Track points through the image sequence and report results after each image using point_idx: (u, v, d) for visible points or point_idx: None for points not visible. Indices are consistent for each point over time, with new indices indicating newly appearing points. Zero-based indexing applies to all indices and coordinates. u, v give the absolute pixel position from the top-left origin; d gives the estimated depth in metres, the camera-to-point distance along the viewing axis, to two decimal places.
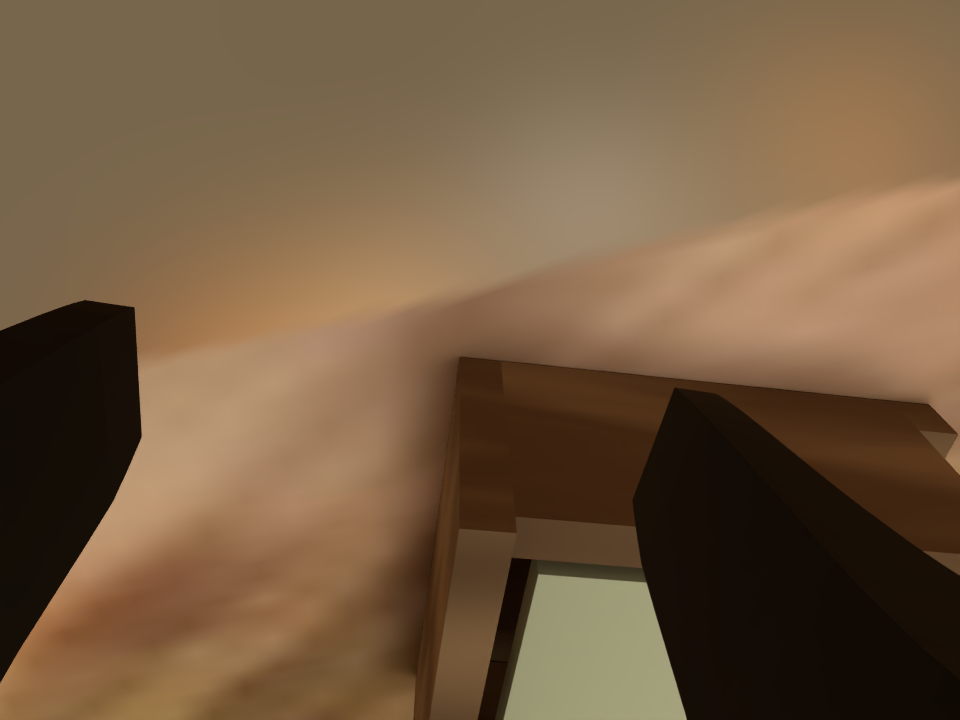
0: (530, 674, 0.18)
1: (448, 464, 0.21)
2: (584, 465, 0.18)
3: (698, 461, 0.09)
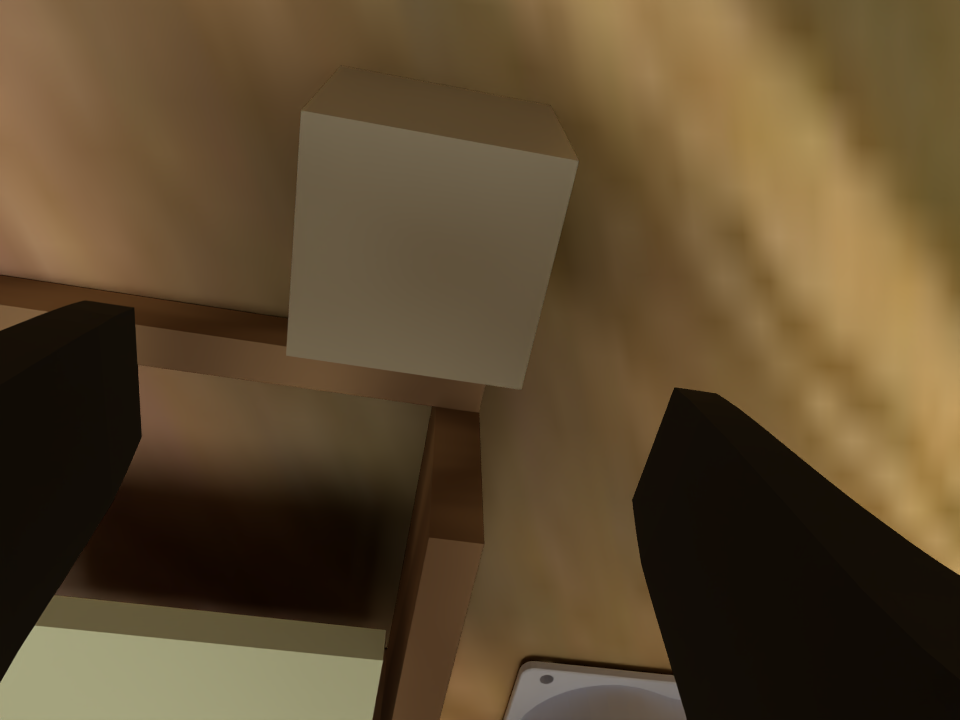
0: None
1: None
2: None
3: (698, 461, 0.09)
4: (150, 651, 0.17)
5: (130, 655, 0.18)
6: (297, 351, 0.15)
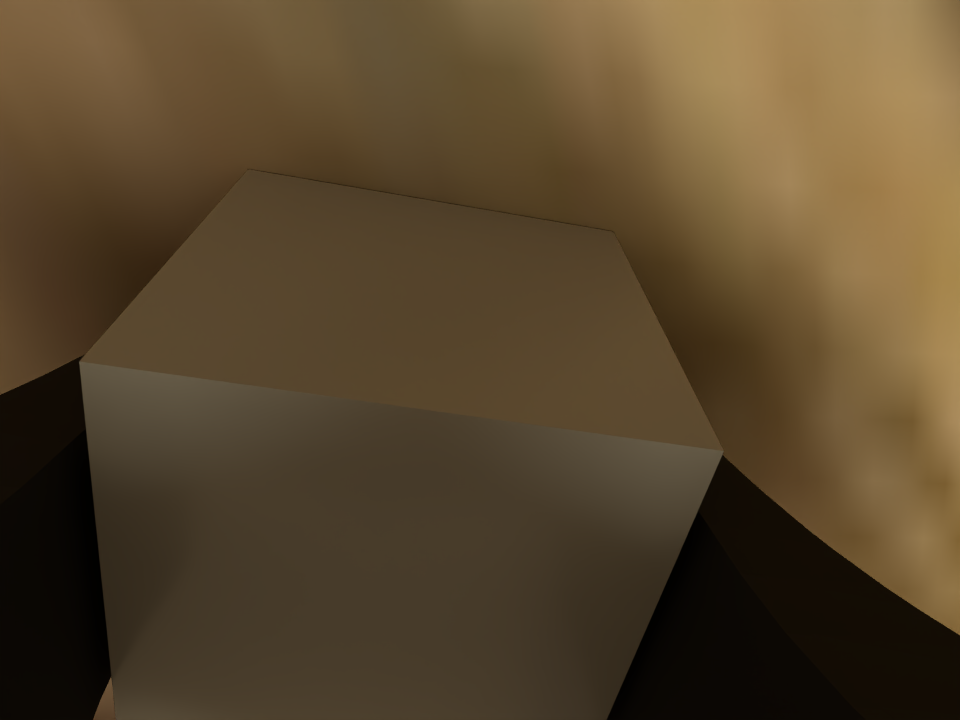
0: None
1: None
2: None
3: None
4: None
5: None
6: None
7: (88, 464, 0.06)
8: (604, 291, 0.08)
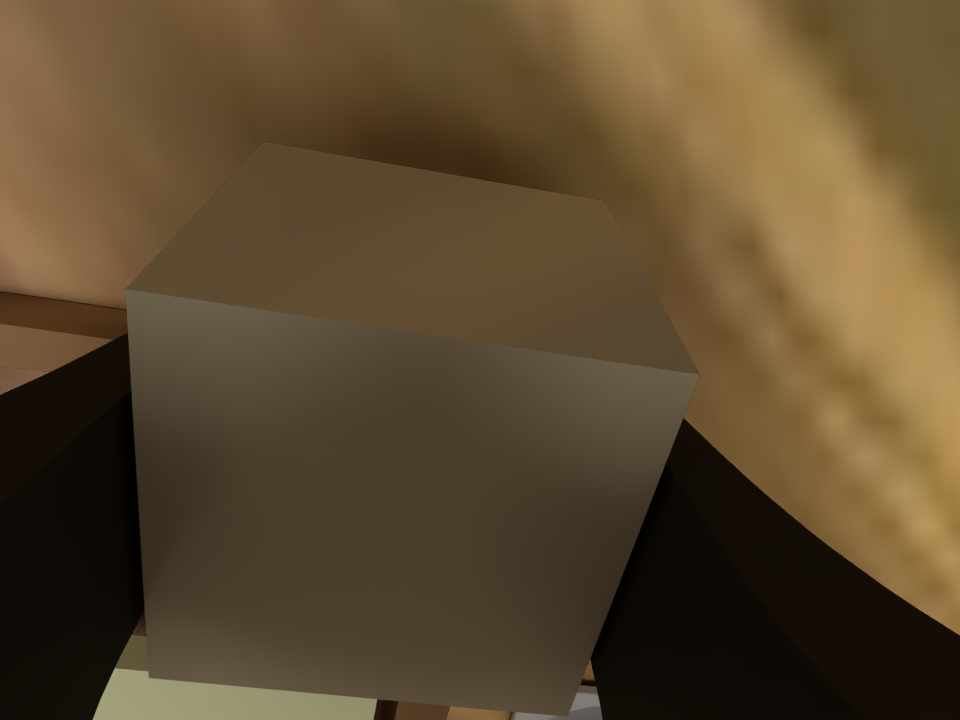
0: None
1: None
2: None
3: None
4: (134, 684, 0.17)
5: (113, 688, 0.17)
6: (168, 671, 0.09)
7: (88, 464, 0.06)
8: (595, 249, 0.09)
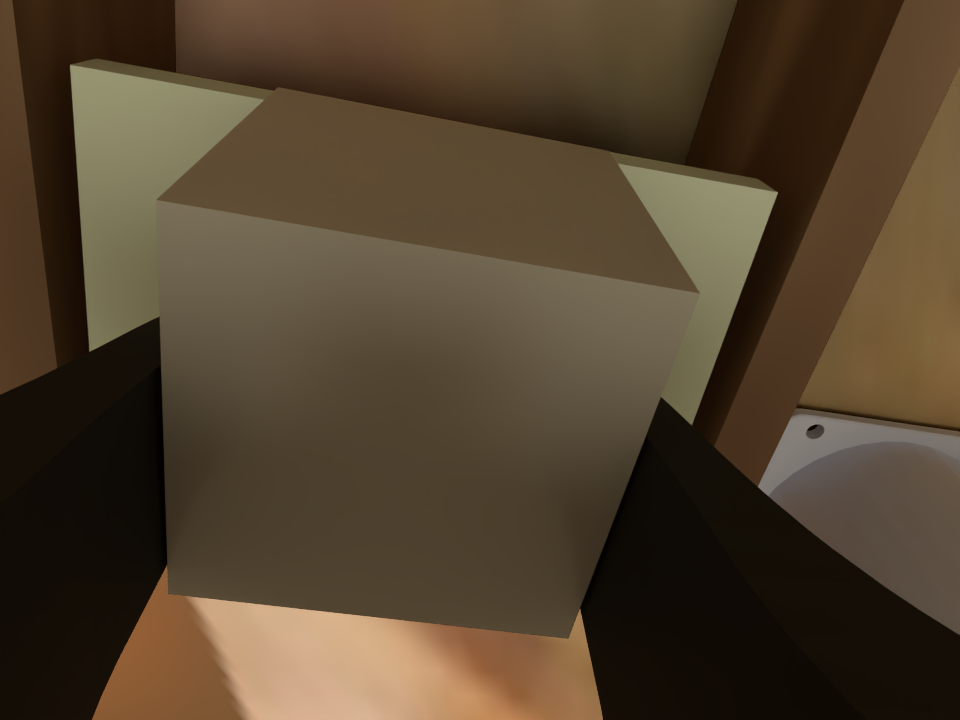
0: None
1: None
2: None
3: None
4: None
5: None
6: (187, 587, 0.09)
7: (87, 464, 0.06)
8: (600, 189, 0.09)
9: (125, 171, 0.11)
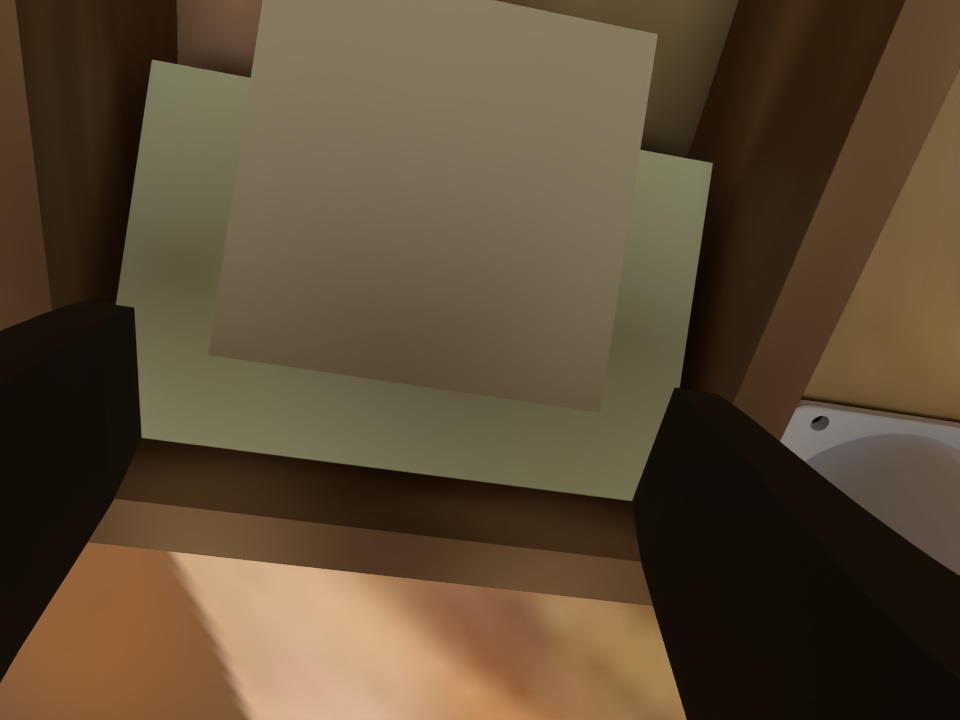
0: (290, 435, 0.14)
1: None
2: None
3: (698, 461, 0.09)
4: None
5: None
6: (228, 347, 0.09)
7: None
8: None
9: (180, 143, 0.14)
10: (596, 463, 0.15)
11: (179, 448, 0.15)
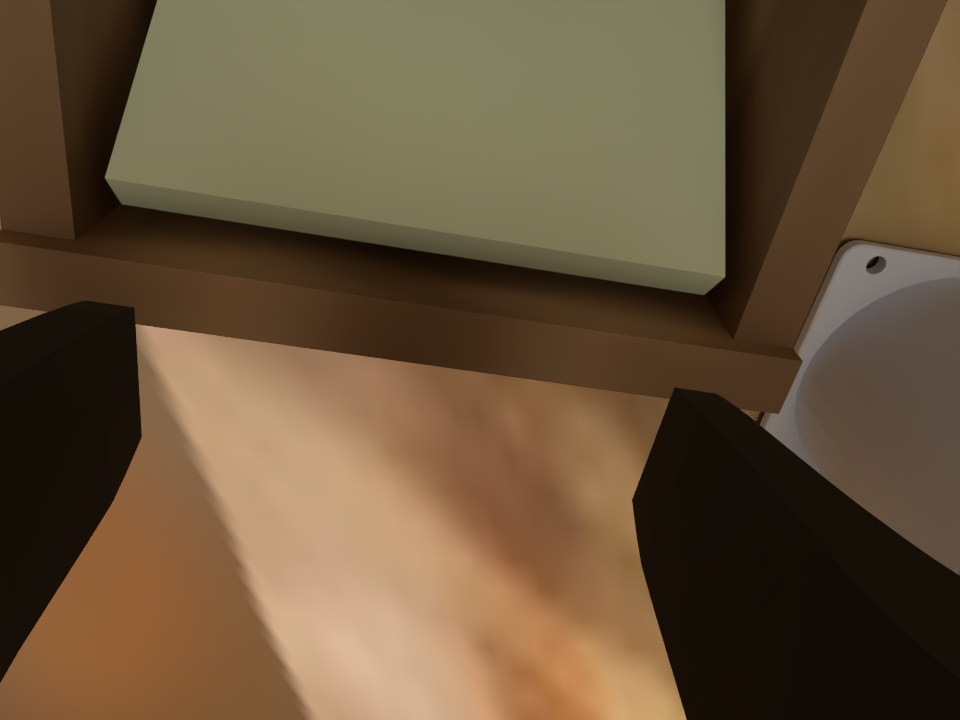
0: (317, 191, 0.13)
1: None
2: None
3: (698, 461, 0.09)
4: None
5: None
6: None
7: None
8: None
9: None
10: (649, 232, 0.14)
11: (192, 231, 0.14)
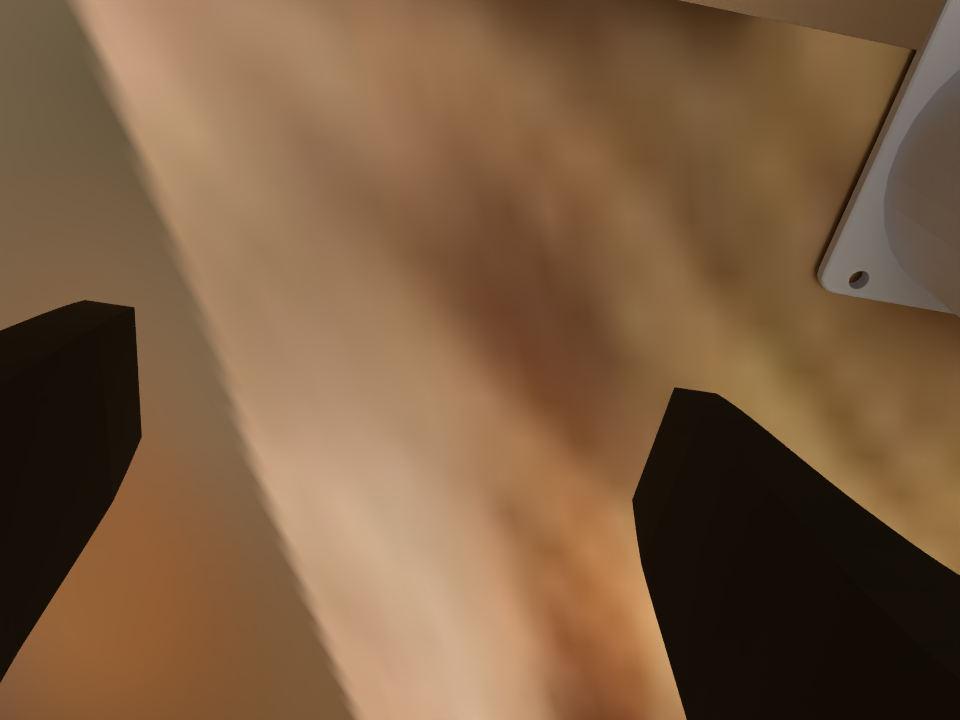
0: None
1: None
2: None
3: (698, 461, 0.09)
4: None
5: None
6: None
7: None
8: None
9: None
10: None
11: None
